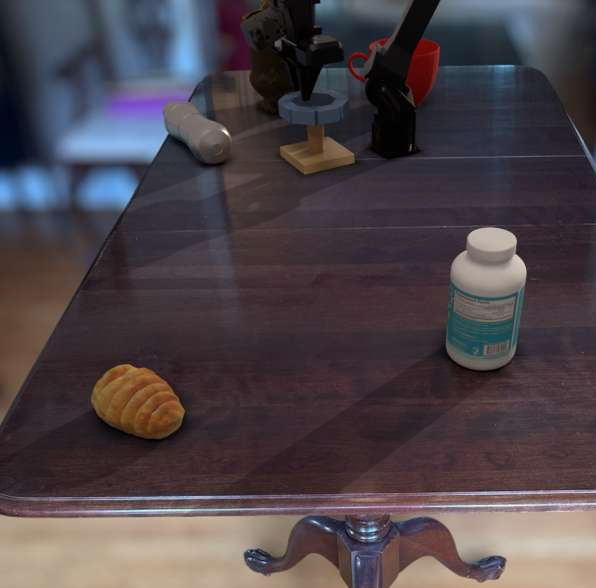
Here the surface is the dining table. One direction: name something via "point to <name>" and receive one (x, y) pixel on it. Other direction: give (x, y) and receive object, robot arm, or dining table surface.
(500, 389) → the dining table surface
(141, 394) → the pastry
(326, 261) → the dining table surface
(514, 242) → the pill bottle
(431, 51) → the ceramic cup
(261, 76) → the pottery vessel
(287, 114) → the ring
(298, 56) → the robot arm
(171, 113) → the plastic bottle
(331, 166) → the stand
